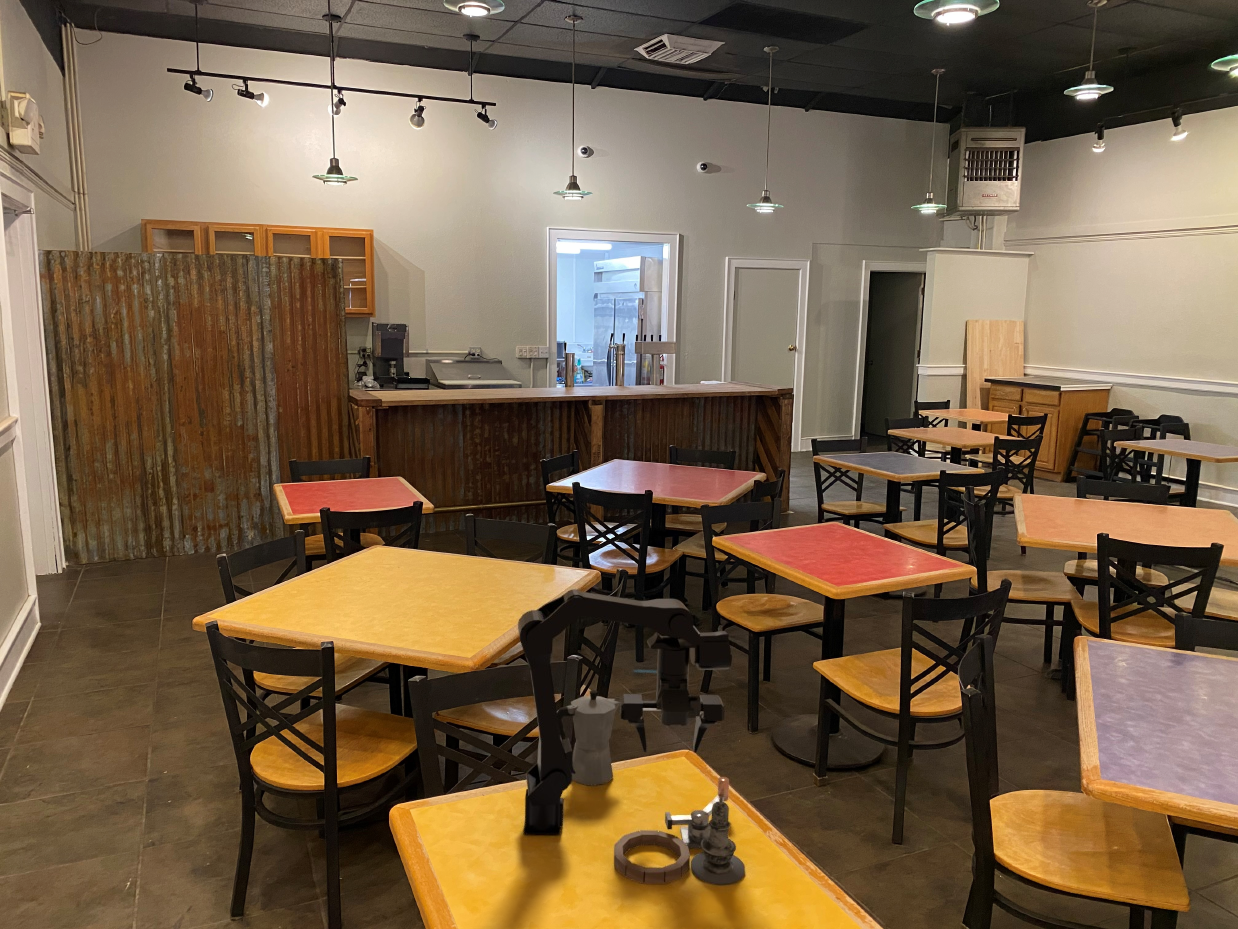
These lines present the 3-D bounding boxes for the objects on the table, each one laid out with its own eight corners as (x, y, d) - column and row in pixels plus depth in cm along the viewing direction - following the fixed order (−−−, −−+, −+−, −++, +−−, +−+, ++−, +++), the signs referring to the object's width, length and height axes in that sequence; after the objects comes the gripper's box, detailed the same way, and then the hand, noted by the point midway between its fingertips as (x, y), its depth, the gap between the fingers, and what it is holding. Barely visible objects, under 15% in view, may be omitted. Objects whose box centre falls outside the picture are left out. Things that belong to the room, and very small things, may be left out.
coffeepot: (608, 759, 184) (610, 677, 182) (630, 778, 176) (633, 693, 174) (542, 774, 176) (543, 689, 174) (562, 795, 168) (564, 706, 166)
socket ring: (615, 883, 140) (615, 872, 140) (613, 840, 153) (613, 830, 152) (692, 884, 141) (693, 872, 140) (684, 841, 153) (684, 830, 153)
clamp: (659, 826, 152) (660, 804, 152) (698, 790, 166) (699, 769, 165) (695, 839, 149) (696, 816, 148) (732, 801, 162) (733, 779, 162)
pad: (694, 885, 141) (694, 881, 140) (687, 853, 149) (687, 850, 149) (749, 885, 141) (749, 881, 141) (739, 853, 150) (739, 850, 150)
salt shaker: (740, 863, 146) (744, 795, 145) (725, 880, 141) (729, 810, 140) (709, 851, 149) (713, 785, 148) (693, 867, 144) (697, 799, 143)
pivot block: (684, 848, 151) (684, 835, 151) (680, 830, 157) (680, 817, 157) (718, 848, 151) (718, 835, 151) (713, 830, 157) (713, 817, 157)
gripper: (623, 686, 149) (621, 772, 151) (731, 687, 150) (727, 773, 152) (621, 663, 160) (618, 743, 162) (721, 664, 161) (717, 744, 163)
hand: (669, 751), depth 159 cm, fingers open, 9 cm apart
